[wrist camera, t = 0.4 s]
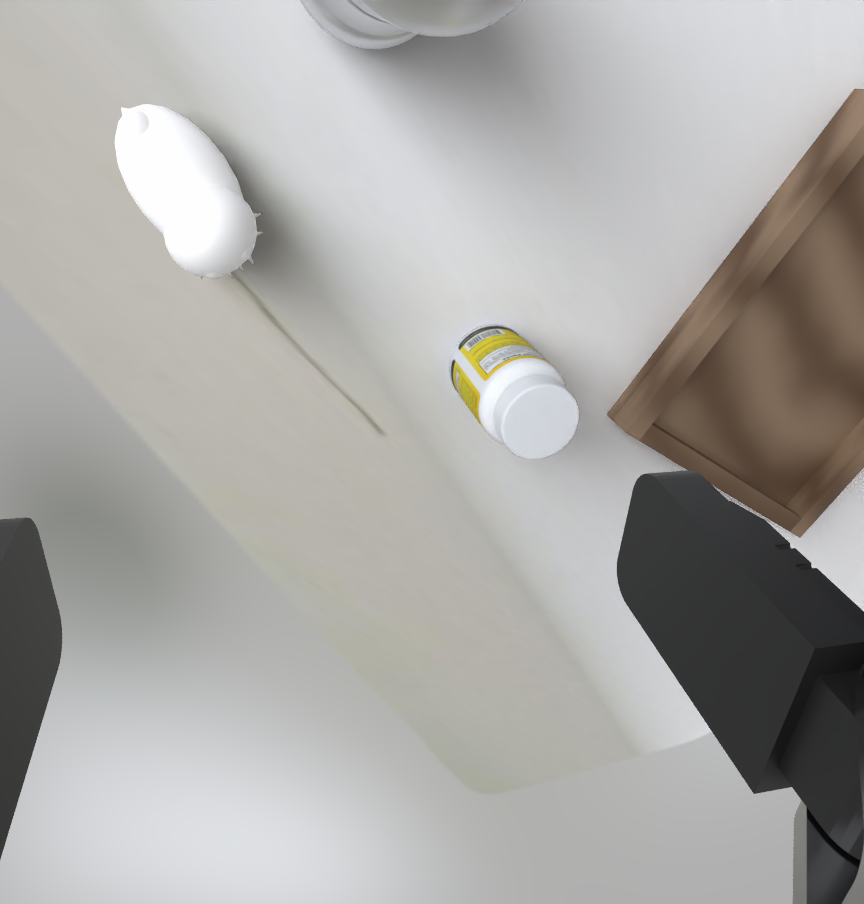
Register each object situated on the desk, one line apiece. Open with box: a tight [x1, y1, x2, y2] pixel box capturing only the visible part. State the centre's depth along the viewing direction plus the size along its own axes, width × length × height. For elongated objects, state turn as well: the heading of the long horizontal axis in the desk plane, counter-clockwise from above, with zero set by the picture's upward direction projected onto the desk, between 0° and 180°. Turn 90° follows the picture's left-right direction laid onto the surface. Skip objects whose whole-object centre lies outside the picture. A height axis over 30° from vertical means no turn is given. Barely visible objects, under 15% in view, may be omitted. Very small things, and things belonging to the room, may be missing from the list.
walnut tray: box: [607, 89, 864, 538], centre depth 45 cm, size 22×18×2 cm
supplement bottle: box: [449, 325, 579, 459], centre depth 38 cm, size 5×5×8 cm
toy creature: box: [115, 104, 264, 279], centre depth 31 cm, size 5×8×6 cm, turn 30°
